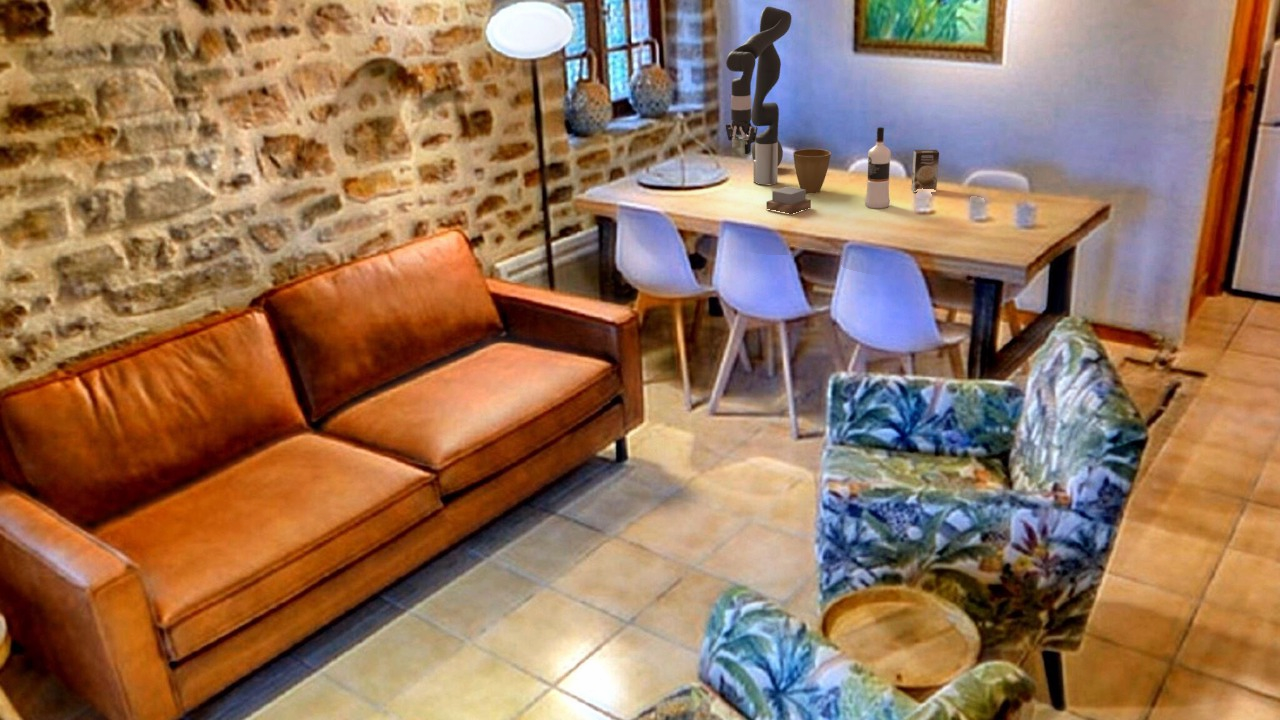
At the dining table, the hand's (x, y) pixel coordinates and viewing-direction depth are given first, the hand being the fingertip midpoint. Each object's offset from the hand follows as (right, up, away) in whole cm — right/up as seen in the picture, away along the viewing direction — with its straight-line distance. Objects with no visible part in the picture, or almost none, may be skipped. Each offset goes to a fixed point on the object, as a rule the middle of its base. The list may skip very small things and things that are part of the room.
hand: (741, 152), depth 403 cm
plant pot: (+31, -10, +31) cm, 45 cm away
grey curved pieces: (+18, +6, +70) cm, 72 cm away
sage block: (0, -1, 0) cm, 1 cm away
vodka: (+52, -19, +6) cm, 56 cm away
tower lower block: (+19, -21, +7) cm, 29 cm away
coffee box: (+75, -11, +24) cm, 79 cm away
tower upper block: (+19, -17, +6) cm, 26 cm away
